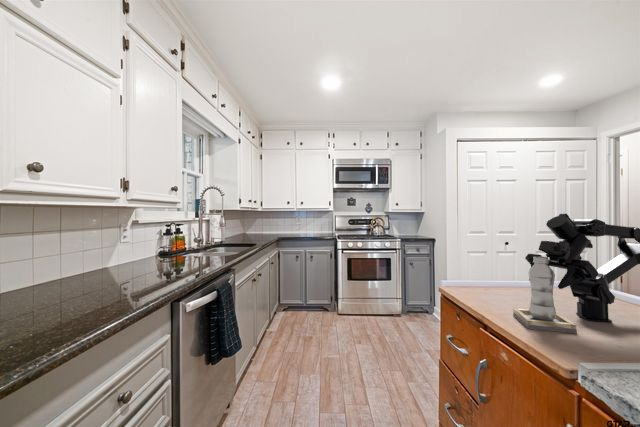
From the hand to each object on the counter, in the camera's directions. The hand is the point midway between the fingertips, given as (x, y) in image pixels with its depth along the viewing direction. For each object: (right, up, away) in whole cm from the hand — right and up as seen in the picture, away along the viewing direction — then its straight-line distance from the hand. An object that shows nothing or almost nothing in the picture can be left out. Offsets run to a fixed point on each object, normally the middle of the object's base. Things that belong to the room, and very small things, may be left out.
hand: (543, 284), depth 86 cm
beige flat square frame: (-1, -12, -1) cm, 12 cm away
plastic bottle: (-1, -11, -1) cm, 11 cm away
